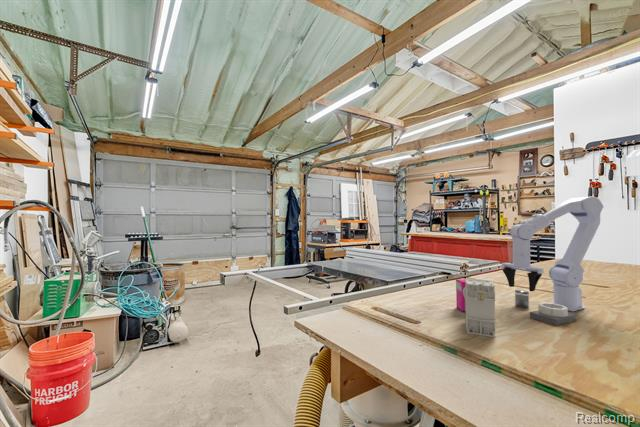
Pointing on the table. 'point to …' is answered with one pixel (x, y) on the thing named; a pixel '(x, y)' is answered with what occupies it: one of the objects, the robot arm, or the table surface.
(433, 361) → the table surface
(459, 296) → the supplement box
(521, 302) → the lens
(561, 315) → the camera body
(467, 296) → the circuit breaker
